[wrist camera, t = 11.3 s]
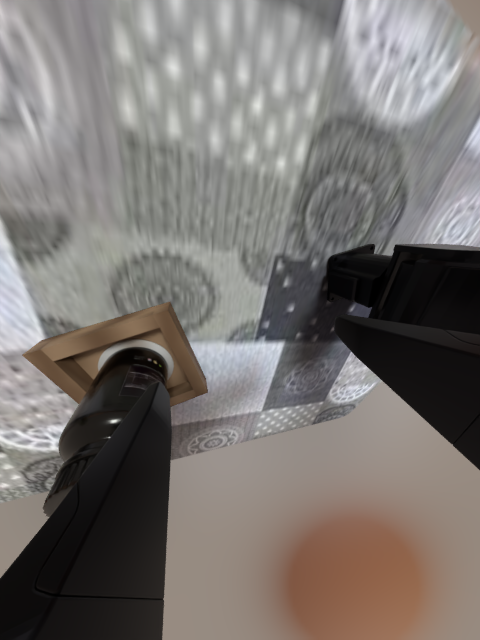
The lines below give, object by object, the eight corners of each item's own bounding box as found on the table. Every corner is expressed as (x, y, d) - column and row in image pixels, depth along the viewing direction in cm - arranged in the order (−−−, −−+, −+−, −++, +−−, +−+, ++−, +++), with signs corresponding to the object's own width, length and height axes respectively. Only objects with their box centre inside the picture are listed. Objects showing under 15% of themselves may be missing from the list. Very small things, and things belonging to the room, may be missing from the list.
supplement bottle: (145, 395, 23) (111, 530, 12) (91, 372, 19) (-18, 534, 9) (181, 362, 22) (176, 478, 12) (131, 333, 18) (61, 461, 8)
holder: (169, 301, 19) (167, 310, 17) (206, 379, 25) (207, 392, 23) (41, 340, 17) (22, 355, 15) (115, 413, 24) (109, 430, 22)
